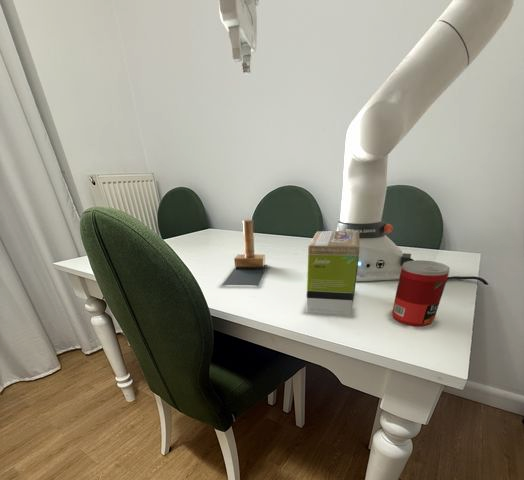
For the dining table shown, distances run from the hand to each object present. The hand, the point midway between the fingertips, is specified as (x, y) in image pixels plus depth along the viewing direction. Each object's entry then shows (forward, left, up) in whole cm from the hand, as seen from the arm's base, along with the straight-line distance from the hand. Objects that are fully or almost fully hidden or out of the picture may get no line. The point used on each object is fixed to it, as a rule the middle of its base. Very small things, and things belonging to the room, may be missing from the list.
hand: (242, 67), depth 67 cm
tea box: (-23, +24, -48) cm, 58 cm away
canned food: (-39, +32, -48) cm, 69 cm away
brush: (+1, -1, -47) cm, 47 cm away
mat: (+1, +5, -47) cm, 48 cm away
